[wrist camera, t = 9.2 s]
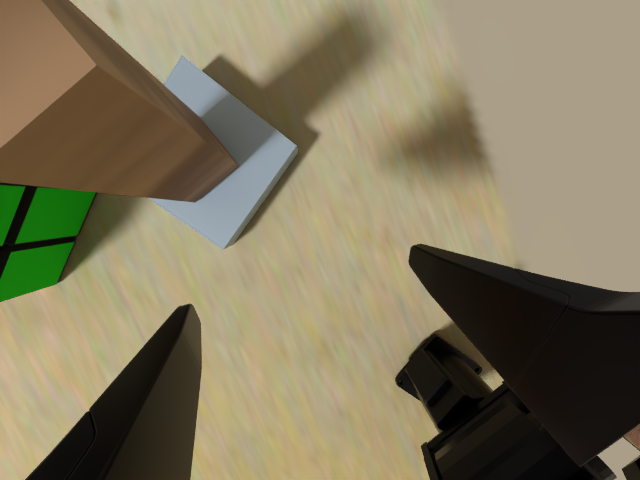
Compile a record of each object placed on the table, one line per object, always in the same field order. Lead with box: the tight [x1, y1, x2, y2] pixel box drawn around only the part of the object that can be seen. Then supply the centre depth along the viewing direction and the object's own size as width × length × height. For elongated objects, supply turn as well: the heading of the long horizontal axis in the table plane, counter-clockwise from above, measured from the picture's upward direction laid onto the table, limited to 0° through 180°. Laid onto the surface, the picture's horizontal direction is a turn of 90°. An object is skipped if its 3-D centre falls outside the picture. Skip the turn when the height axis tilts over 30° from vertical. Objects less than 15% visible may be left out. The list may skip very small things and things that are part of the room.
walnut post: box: [0, 0, 239, 203], centre depth 11 cm, size 4×4×12 cm
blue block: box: [149, 56, 298, 249], centre depth 19 cm, size 10×10×3 cm
